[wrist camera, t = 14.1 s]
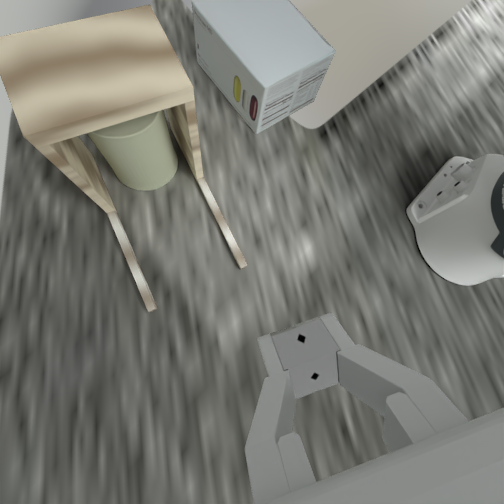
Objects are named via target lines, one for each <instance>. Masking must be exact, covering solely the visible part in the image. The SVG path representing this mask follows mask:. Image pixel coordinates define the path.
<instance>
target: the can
mask: <svg viewBox="0 0 504 504" xmlns="http://www.w3.org/2000/svg"><path fill="white" fill-rule="evenodd" d="M87 134H88V136H89V137H90V138H91V140H92V141H93V142H94V144H95V145H96V147H97V148H98V149H99V151H100V152H101V153H102V155H103V156H104V157H105V159H106V160H107V162H108V163H109V164H110V166H111V167H112V169H113V170H114V173H115V175H116V176H117V178H118V179H119V180H120V181H121V182H122V183H123V184H124V185H126V186H128V187H130V188H132V189H135V190H141V191H149V190H155V189H158V188H160V187H162V186H164V185H166V184H167V183H168V182H169V181H170V180H171V179H172V178H173V177H174V175H175V173H176V171H177V167H178V158H177V154H176V152H175V150H174V147H173V144H172V140H171V137H170V133H169V129H168V126H167V122H166V118H165V114H164V110H161V111H158V112H154V113H151V114H148V115H144V116H141V117H138V118H135V119H131V120H128V121H125V122H122V123H118V124H115V125H112V126H109V127H105V128H102V129H99V130H96V131H92V132H89V133H87Z"/></svg>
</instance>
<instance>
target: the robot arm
mask: <svg viewBox="0 0 504 504" xmlns="http://www.w3.org/2000/svg"><path fill="white" fill-rule="evenodd" d="M419 207H420V208H419ZM407 215H408V217H409V219H410V221H411V223H412V224H413V226H414V229H415V232H416V238H417V243H418V246H419V249H420V251H421V254H422V255H423V257H424V259H425V260H426V262H427V263H428V264H429V266H430V267H431V268H432V269H433V270H434V271H435V272H436V273H437V274H439V275H440V276H441V277H443V278H445V279H446V280H448V281H450V282H453V283H456V284H460V285H475V284H479V283H481V282H484V281H486V280H489V279H492V278H503V277H504V155H499V154H486V155H483V156H481V157H479V158H478V159H476V160H472V159H469V158H465V157H459V156H455V157H452V158H451V159H449V160H448V161H447V162H446V163H445V164H444V165H443V167H442V168H441V169H440V170H439V171H438V172H437V174H436V175H435V176H434V177H433V178H432V179H431V181H430V182H429V183H428V184H427V185H426V186H425V188H424V189H423V190H422V191H421V192H420V193H419V195H418V196H417V197H416V198H415V199H414V200H413V202H412V203H411V204H410V205H409V206H408V208H407ZM257 340H258V344H259V347H260V350H261V353H262V357H263V360H264V363H265V366H266V369H267V373H268V376H269V377H266V378H265V380H264V383H263V386H262V390H261V393H260V397H259V400H258V404H257V407H256V411H255V414H254V418H253V421H252V425H251V428H250V432H249V435H248V439H247V442H246V446H245V453H246V459H247V465H248V471H249V477H250V483H251V489H252V494H253V500H254V504H504V408H501V409H498V410H496V411H493V412H491V413H488V414H486V415H483V416H481V417H478V418H476V419H473V420H471V421H468V420H467V419H466V417H465V416H464V415H463V414H462V413H461V412H460V411H459V410H458V409H457V407H456V406H455V405H454V404H453V403H452V402H451V401H450V400H449V399H448V397H447V396H446V395H445V394H444V393H443V392H442V391H441V390H440V389H439V387H438V386H437V385H436V384H435V383H434V382H433V381H432V380H431V379H430V378H428V377H426V376H424V375H422V374H420V373H418V372H416V371H414V370H411V369H409V368H407V367H405V366H403V365H401V364H399V363H397V362H395V361H393V360H391V359H389V358H387V357H385V356H383V355H381V354H379V353H376V352H374V351H372V350H370V349H368V348H366V347H364V346H362V345H360V344H358V345H355V344H354V343H353V341H352V340H351V338H350V337H349V336H348V334H347V333H346V332H345V330H344V329H343V327H342V326H341V325H340V323H339V322H338V320H337V319H336V318H335V316H334V315H333V314H332V313H328V314H325V315H323V316H320V317H316V318H313V319H311V320H308V321H305V322H302V323H299V324H297V325H294V326H292V327H289V328H286V329H283V330H280V331H276V332H273V333H270V334H267V335H264V336H261V337H258V338H257ZM339 383H340V385H341V386H342V387H344V388H345V389H346V390H348V391H349V392H350V393H352V394H353V395H354V396H356V397H357V398H359V399H360V400H361V401H363V402H364V403H365V404H367V405H368V406H370V407H371V408H372V409H374V410H375V411H376V412H378V413H379V414H380V415H382V416H383V417H385V418H384V427H383V437H382V440H383V441H384V443H385V445H386V446H387V448H388V450H389V452H390V453H388V454H386V455H383V456H381V457H378V458H376V459H373V460H371V461H368V462H366V463H363V464H361V465H358V466H356V467H353V468H351V469H348V470H345V471H343V472H340V473H338V474H335V475H333V476H330V477H328V478H325V479H323V480H320V481H318V482H316V480H315V477H314V475H313V472H312V469H311V466H310V464H309V461H308V458H307V455H306V452H305V450H304V447H303V444H302V441H301V439H300V436H299V435H298V434H296V433H294V432H292V430H293V423H294V415H295V408H296V399H298V398H301V397H303V396H306V395H308V394H311V393H313V392H316V391H318V390H321V389H324V388H327V387H330V386H333V385H336V384H339Z"/></svg>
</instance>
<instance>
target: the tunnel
mask: <svg viewBox="0 0 504 504" xmlns="http://www.w3.org/2000/svg"><path fill="white" fill-rule="evenodd" d="M0 76H1V78H2V81H3V84H4V86H5V89H6V91H7V94H8V97H9V99H10V102H11V105H12V107H13V110H14V113H15V115H16V118H17V121H18V123H19V126H20V129H21V131H22V134H23V136H24V137H25V138H26V139H27V140H28V141H29V142H30V143H31V144H32V145H33V146H34V147H35V148H37V149H38V150H39V151H40V152H41V153H42V154H43V155H44V156H45V157H46V158H47V159H49V160H50V161H51V162H52V163H53V164H54V165H55V166H56V167H57V168H58V169H59V170H61V171H62V172H63V173H64V174H65V175H66V176H67V177H68V178H69V179H70V180H71V181H73V182H74V183H75V184H76V185H77V186H78V187H79V188H80V189H81V190H82V191H83V192H84V193H86V194H87V195H88V196H89V197H90V198H91V199H92V200H93V201H94V202H95V203H96V204H98V205H99V206H100V207H101V208H102V209H103V210H104V211H105V212H106V213H107V214H108V217H109V219H110V222H111V224H112V226H113V229H114V231H115V233H116V236H117V238H118V241H119V243H120V245H121V248H122V250H123V253H124V255H125V257H126V260H127V262H128V265H129V267H130V269H131V272H132V274H133V277H134V279H135V281H136V284H137V286H138V289H139V291H140V293H141V296H142V298H143V301H144V303H145V305H146V308H147V310H148V312H152V311H154V310H156V309H158V308H157V306H156V303H155V301H154V299H153V296H152V294H151V292H150V289H149V287H148V284H147V282H146V280H145V277H144V275H143V273H142V270H141V268H140V266H139V263H138V261H137V259H136V256H135V254H134V251H133V249H132V247H131V244H130V242H129V240H128V237H127V235H126V233H125V230H124V228H123V226H122V223H121V221H120V219H119V216H118V214H117V211H116V209H115V207H114V204H113V202H112V200H111V197H110V195H109V193H108V190H107V188H106V186H105V183H104V181H103V178H102V176H101V174H100V171H99V169H98V167H97V164H96V162H95V160H94V157H93V155H92V153H91V152H90V151H89V150H88V148H87V147H86V146H85V144H84V143H83V142H82V141H81V139H80V138H79V137H78V136H79V135H83V134H86V133H89V132H92V131H96V130H99V129H102V128H105V127H109V126H112V125H115V124H118V123H122V122H125V121H128V120H131V119H135V118H138V117H141V116H144V115H148V114H151V113H154V112H158V111H161V110H164V109H166V112H167V116H168V119H169V123H170V127H171V130H172V132H173V134H174V136H175V138H176V140H177V142H178V144H179V146H180V148H181V150H182V152H183V154H184V156H185V158H186V160H187V162H188V164H189V166H190V168H191V170H192V172H193V175H194V177H195V179H196V181H197V183H198V185H199V187H200V189H201V191H202V193H203V195H204V197H205V199H206V201H207V203H208V205H209V207H210V209H211V211H212V213H213V215H214V217H215V219H216V221H217V223H218V225H219V227H220V229H221V231H222V233H223V235H224V237H225V239H226V241H227V243H228V245H229V247H230V249H231V251H232V254H233V256H234V258H235V260H236V262H237V264H238V266H239V268H240V269H242V268H244V267H246V266H247V263H246V261H245V259H244V257H243V255H242V253H241V251H240V249H239V247H238V245H237V243H236V241H235V239H234V237H233V235H232V233H231V231H230V229H229V227H228V225H227V223H226V221H225V219H224V217H223V215H222V213H221V211H220V209H219V207H218V205H217V203H216V201H215V199H214V197H213V195H212V193H211V191H210V189H209V187H208V185H207V183H206V181H205V179H204V177H203V169H202V160H201V152H200V143H199V134H198V125H197V116H196V108H195V99H194V90H193V85H192V84H191V82H190V80H189V78H188V76H187V74H186V72H185V70H184V68H183V66H182V65H181V63H180V61H179V59H178V57H177V55H176V53H175V51H174V49H173V48H172V46H171V44H170V42H169V40H168V38H167V36H166V34H165V32H164V30H163V29H162V27H161V25H160V23H159V21H158V19H157V17H156V15H155V13H154V12H153V10H152V8H151V6H150V5H146V6H141V7H136V8H132V9H127V10H122V11H118V12H113V13H109V14H104V15H99V16H94V17H90V18H85V19H80V20H76V21H71V22H66V23H62V24H57V25H52V26H48V27H43V28H38V29H34V30H29V31H24V32H20V33H15V34H10V35H6V36H1V37H0Z"/></svg>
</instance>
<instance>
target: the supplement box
mask: <svg viewBox="0 0 504 504" xmlns="http://www.w3.org/2000/svg"><path fill="white" fill-rule="evenodd" d="M192 8H193V21H194V32H195V43H196V55H197V63H198V64H199V65H200V66H201V68H202V69H203V70H204V71H205V72H206V74H207V75H208V76H209V77H210V79H211V80H212V81H213V82H214V83H215V85H216V86H217V87H218V88H219V90H220V91H221V92H222V93H223V95H224V96H225V97H226V98H227V99H228V101H229V102H230V103H231V104H232V106H233V107H234V108H235V109H236V111H237V112H238V113H239V114H240V115H241V117H242V118H243V119H244V120H245V122H246V123H247V124H248V125H249V127H250V128H251V129H252V130H253V131H254V133H255V134H258V133H260V132H261V131H263V130H265V129H267V128H268V127H270V126H272V125H273V124H275V123H277V122H279V121H280V120H282V119H284V118H286V117H287V116H289V115H291V114H293V113H294V112H296V111H298V110H299V109H301V108H303V107H304V106H306V105H308V104H310V103H312V102H314V99H315V97H316V95H317V92H318V90H319V87H320V85H321V83H322V81H323V78H324V76H325V74H326V72H327V69H328V67H329V65H330V63H331V61H332V58H333V56H334V54H335V49H334V48H333V47H331V45H330V44H329V43H328V42H327V41H326V40H325V39H324V38H323V36H322V35H321V34H320V33H319V32H318V31H317V30H316V29H315V28H314V27H313V26H312V25H311V24H310V22H308V20H307V19H306V18H305V17H304V16H303V15H302V14H301V13H300V12H299V11H298V9H297V8H296V7H295V6H294V5H293V4H292V3H291V2H290V1H289V0H192Z"/></svg>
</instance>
